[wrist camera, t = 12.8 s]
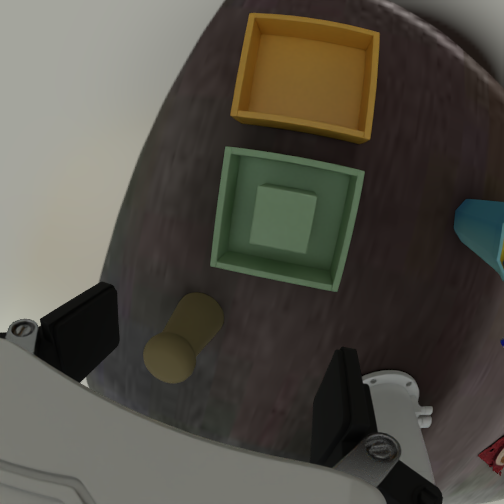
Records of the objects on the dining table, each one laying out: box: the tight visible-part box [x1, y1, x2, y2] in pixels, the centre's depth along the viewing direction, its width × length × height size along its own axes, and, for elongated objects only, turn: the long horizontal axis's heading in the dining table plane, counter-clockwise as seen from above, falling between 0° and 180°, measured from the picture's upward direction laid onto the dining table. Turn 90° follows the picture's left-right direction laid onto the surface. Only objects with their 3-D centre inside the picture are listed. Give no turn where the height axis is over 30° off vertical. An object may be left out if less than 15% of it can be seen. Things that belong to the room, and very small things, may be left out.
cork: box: [143, 292, 224, 383], centre depth 29 cm, size 6×6×11 cm
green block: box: [249, 183, 318, 254], centre depth 26 cm, size 5×5×5 cm
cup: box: [454, 199, 504, 347], centre depth 18 cm, size 14×8×15 cm, turn 158°
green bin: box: [210, 146, 365, 292], centre depth 27 cm, size 12×11×4 cm
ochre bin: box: [230, 13, 380, 144], centre depth 23 cm, size 12×11×4 cm
